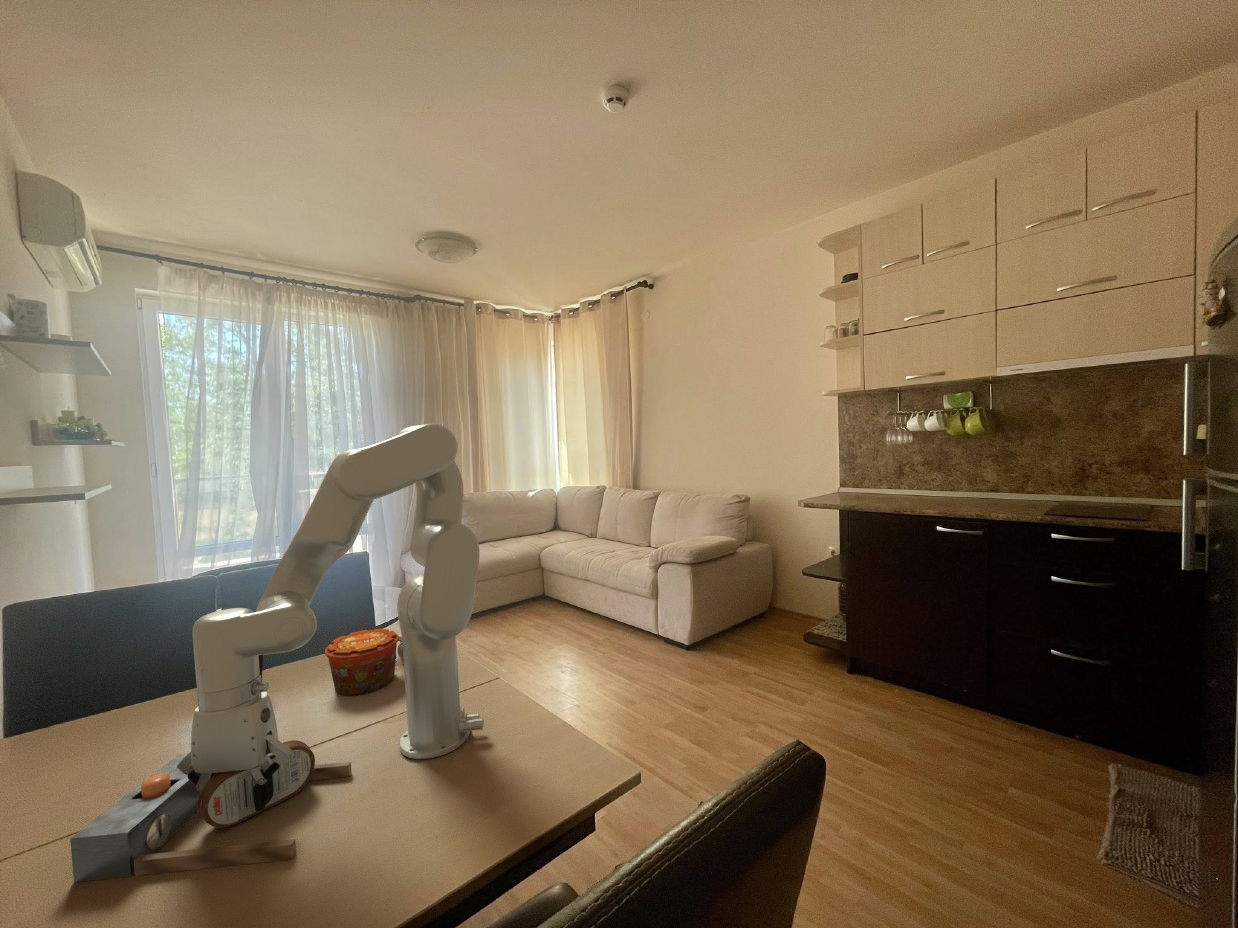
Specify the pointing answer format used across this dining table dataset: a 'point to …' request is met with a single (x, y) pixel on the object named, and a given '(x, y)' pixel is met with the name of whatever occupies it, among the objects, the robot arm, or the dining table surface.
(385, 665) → the food container
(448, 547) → the robot arm
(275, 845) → the rail channel
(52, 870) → the dining table surface
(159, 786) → the button
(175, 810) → the cabinet
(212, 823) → the tin
